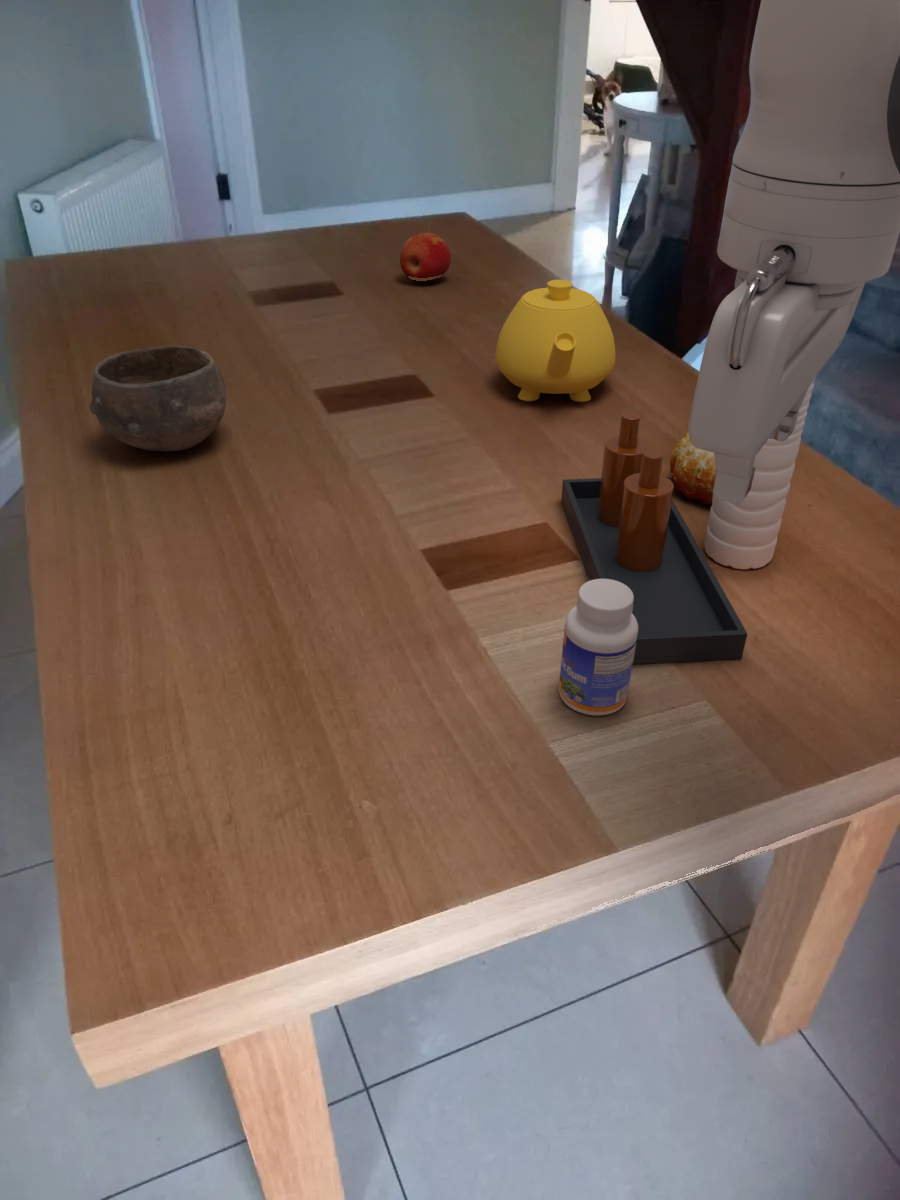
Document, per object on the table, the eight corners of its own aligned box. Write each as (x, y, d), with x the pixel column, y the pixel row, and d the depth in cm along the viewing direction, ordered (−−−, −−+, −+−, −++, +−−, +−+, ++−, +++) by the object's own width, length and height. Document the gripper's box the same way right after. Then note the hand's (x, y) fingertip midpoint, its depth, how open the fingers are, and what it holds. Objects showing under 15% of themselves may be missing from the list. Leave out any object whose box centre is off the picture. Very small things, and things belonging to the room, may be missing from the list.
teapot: (622, 427, 112) (635, 314, 104) (494, 425, 112) (497, 313, 104) (606, 365, 128) (616, 264, 120) (494, 364, 129) (497, 263, 121)
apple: (457, 281, 161) (457, 233, 156) (424, 292, 156) (424, 243, 151) (424, 272, 165) (423, 225, 160) (391, 282, 160) (389, 234, 155)
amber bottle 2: (655, 545, 89) (670, 441, 82) (667, 570, 85) (684, 463, 79) (610, 547, 88) (622, 443, 82) (620, 573, 85) (634, 465, 78)
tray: (561, 501, 97) (562, 479, 95) (656, 497, 98) (659, 475, 96) (619, 665, 75) (623, 640, 73) (742, 658, 75) (747, 633, 74)
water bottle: (749, 579, 85) (810, 309, 70) (689, 551, 89) (735, 290, 74) (797, 544, 90) (863, 285, 75) (739, 520, 94) (791, 269, 79)
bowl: (240, 460, 105) (227, 376, 99) (99, 480, 101) (77, 394, 95) (226, 412, 116) (214, 334, 110) (98, 428, 112) (78, 348, 106)
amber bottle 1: (635, 504, 95) (648, 405, 89) (645, 526, 91) (660, 424, 85) (593, 506, 95) (603, 406, 88) (602, 528, 91) (613, 426, 85)
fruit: (643, 468, 102) (672, 400, 98) (721, 482, 106) (751, 417, 102) (690, 515, 93) (723, 442, 89) (773, 528, 97) (808, 459, 93)
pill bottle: (547, 679, 73) (555, 579, 68) (609, 666, 75) (622, 566, 69) (575, 724, 69) (586, 621, 63) (640, 710, 70) (656, 607, 65)
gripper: (821, 289, 40) (756, 558, 48) (906, 198, 54) (845, 417, 62) (681, 266, 42) (641, 524, 50) (797, 185, 56) (752, 397, 65)
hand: (754, 464), depth 56 cm, fingers open, 8 cm apart
